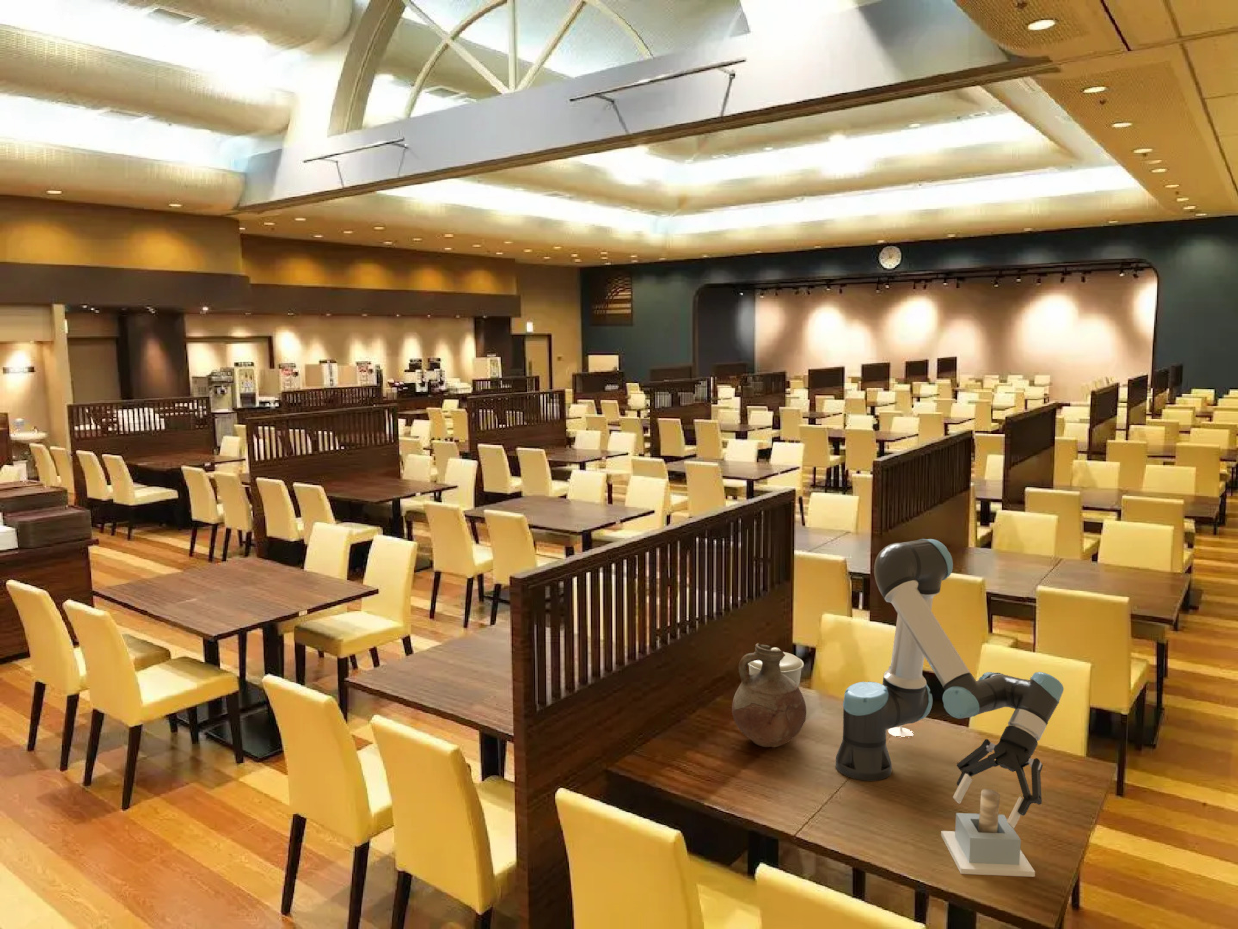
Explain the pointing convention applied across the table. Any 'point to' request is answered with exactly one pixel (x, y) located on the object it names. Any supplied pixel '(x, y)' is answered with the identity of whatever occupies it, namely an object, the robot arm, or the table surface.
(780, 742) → the jug
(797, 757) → the table surface
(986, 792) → the birch peg
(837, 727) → the table surface
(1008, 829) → the socket block
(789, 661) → the canister
